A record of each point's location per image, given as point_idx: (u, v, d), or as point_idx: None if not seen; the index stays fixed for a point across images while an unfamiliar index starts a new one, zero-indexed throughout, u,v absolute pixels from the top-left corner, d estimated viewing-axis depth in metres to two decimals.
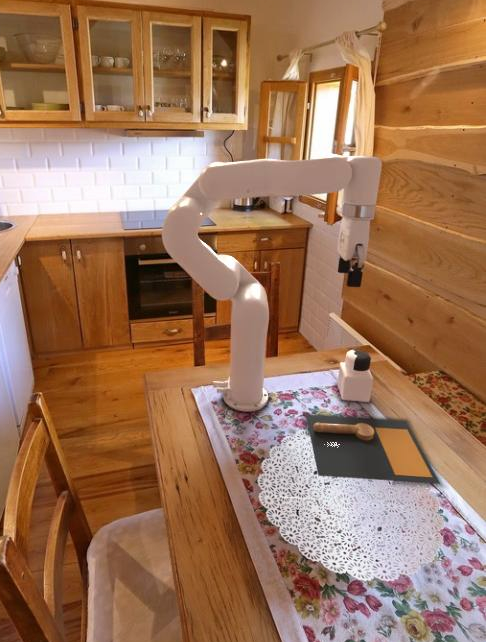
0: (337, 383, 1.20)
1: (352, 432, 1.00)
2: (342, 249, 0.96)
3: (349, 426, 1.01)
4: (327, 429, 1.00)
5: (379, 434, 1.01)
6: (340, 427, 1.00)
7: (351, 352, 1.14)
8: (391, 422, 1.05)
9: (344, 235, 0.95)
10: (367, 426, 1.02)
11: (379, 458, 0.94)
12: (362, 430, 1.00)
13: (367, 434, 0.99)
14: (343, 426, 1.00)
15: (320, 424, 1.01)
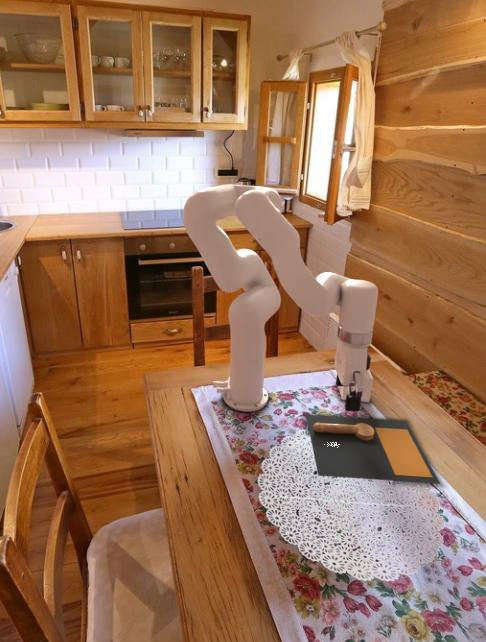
0: None
1: (352, 432, 1.00)
2: (339, 371, 0.94)
3: (349, 426, 1.01)
4: (327, 429, 1.00)
5: (379, 434, 1.01)
6: (340, 427, 1.00)
7: None
8: (391, 422, 1.05)
9: (341, 359, 0.93)
10: (367, 426, 1.02)
11: (379, 458, 0.94)
12: (362, 430, 1.00)
13: (367, 434, 0.99)
14: (343, 426, 1.00)
15: (320, 424, 1.01)
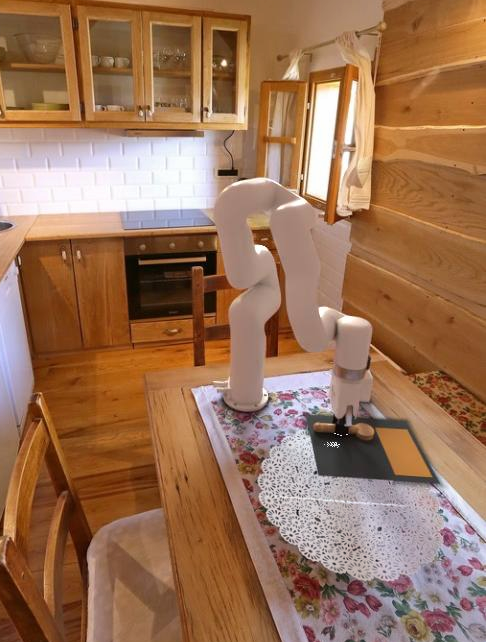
0: None
1: (352, 432, 1.00)
2: (333, 404, 0.97)
3: None
4: (327, 429, 1.00)
5: (379, 434, 1.01)
6: None
7: None
8: (391, 422, 1.05)
9: (335, 392, 0.96)
10: (367, 426, 1.02)
11: (379, 458, 0.94)
12: (362, 430, 1.00)
13: (367, 434, 0.99)
14: None
15: (320, 424, 1.01)
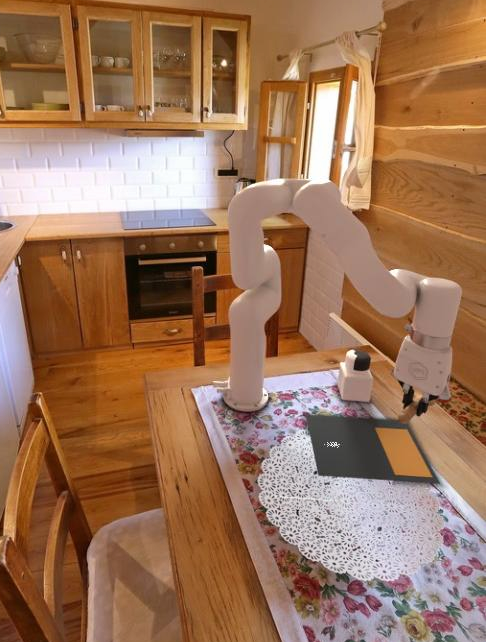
0: (337, 383, 1.20)
1: None
2: (424, 382, 0.84)
3: None
4: (413, 414, 0.87)
5: (379, 434, 1.01)
6: (417, 404, 0.89)
7: (351, 352, 1.14)
8: (391, 422, 1.05)
9: (428, 368, 0.83)
10: None
11: (379, 458, 0.94)
12: None
13: None
14: (417, 402, 0.90)
15: (406, 413, 0.86)
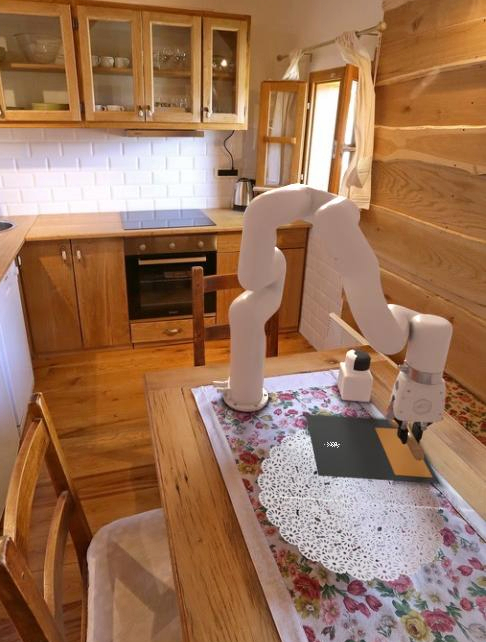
0: (337, 383, 1.20)
1: None
2: (428, 415, 0.87)
3: None
4: (419, 446, 0.90)
5: (379, 434, 1.01)
6: (412, 434, 0.92)
7: (351, 352, 1.14)
8: None
9: (431, 401, 0.86)
10: None
11: (379, 458, 0.94)
12: None
13: None
14: (409, 431, 0.93)
15: (419, 449, 0.88)
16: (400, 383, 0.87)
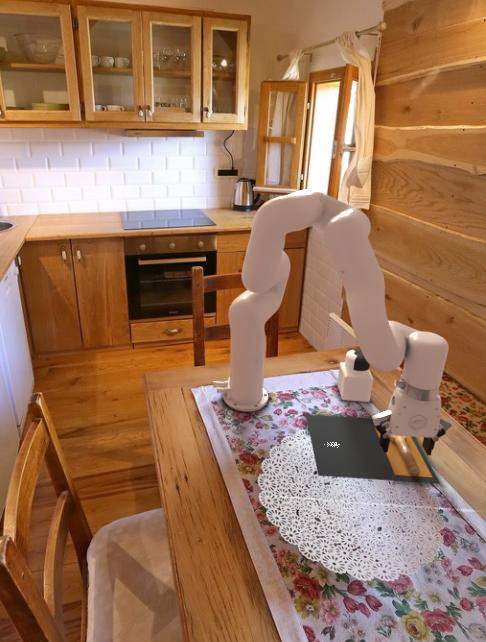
0: (337, 383, 1.20)
1: None
2: (423, 430, 0.89)
3: (403, 441, 0.96)
4: (415, 461, 0.91)
5: (379, 434, 1.01)
6: (408, 449, 0.94)
7: (351, 352, 1.14)
8: None
9: (427, 417, 0.88)
10: None
11: (379, 458, 0.94)
12: None
13: None
14: (406, 446, 0.95)
15: (415, 464, 0.89)
16: (396, 399, 0.88)
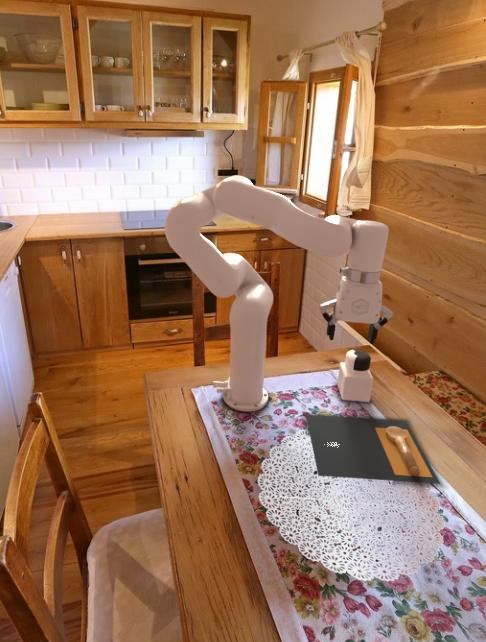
0: (337, 383, 1.20)
1: None
2: (365, 315, 0.94)
3: (403, 441, 0.96)
4: (415, 461, 0.91)
5: (379, 434, 1.01)
6: (408, 449, 0.94)
7: (351, 352, 1.14)
8: (391, 422, 1.05)
9: (369, 302, 0.93)
10: (390, 429, 1.01)
11: (379, 458, 0.94)
12: (399, 434, 0.99)
13: (403, 432, 1.00)
14: (406, 446, 0.95)
15: (415, 464, 0.89)
16: (341, 285, 0.94)
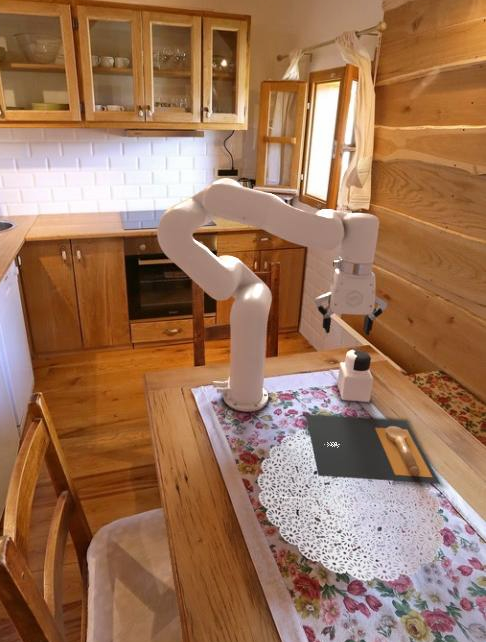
0: (337, 383, 1.20)
1: None
2: (360, 306, 0.96)
3: (403, 441, 0.96)
4: (415, 461, 0.91)
5: (379, 434, 1.01)
6: (408, 449, 0.94)
7: (351, 352, 1.14)
8: (391, 422, 1.05)
9: (362, 293, 0.94)
10: (390, 429, 1.01)
11: (379, 458, 0.94)
12: (399, 434, 0.99)
13: (403, 432, 1.00)
14: (406, 446, 0.95)
15: (415, 464, 0.89)
16: (335, 277, 0.95)
